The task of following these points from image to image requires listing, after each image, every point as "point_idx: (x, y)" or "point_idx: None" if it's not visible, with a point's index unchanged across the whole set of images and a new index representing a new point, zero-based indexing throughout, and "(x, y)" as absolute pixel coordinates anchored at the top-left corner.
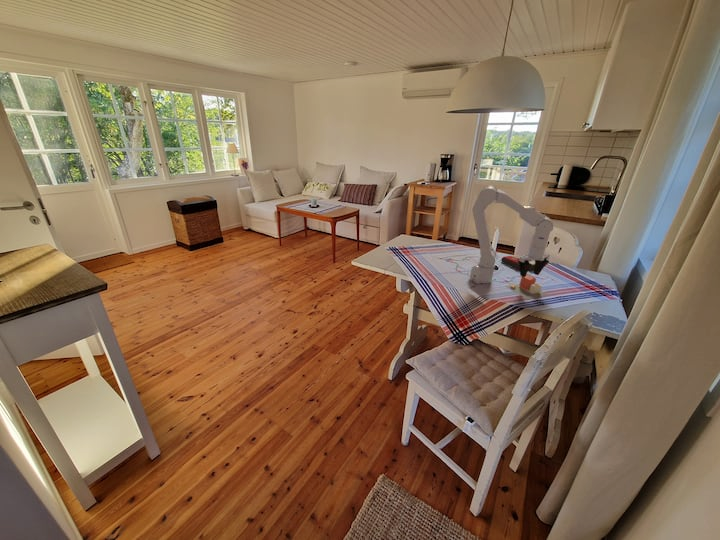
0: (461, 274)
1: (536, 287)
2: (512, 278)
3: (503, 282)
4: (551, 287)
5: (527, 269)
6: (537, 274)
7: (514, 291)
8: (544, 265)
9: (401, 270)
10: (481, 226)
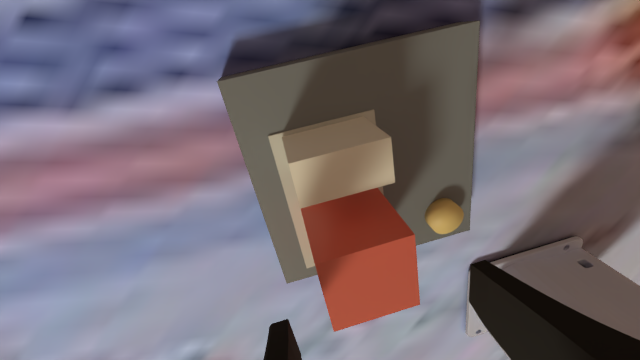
0: None
1: (359, 140)
2: (309, 343)
3: None
4: (80, 257)
5: (603, 343)
6: (288, 326)
7: (472, 160)
8: None
9: None
10: None
